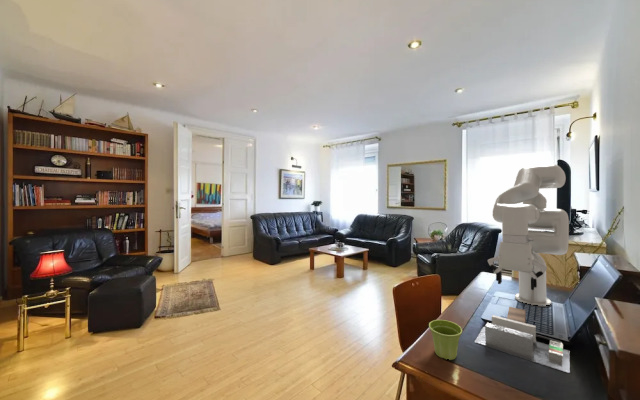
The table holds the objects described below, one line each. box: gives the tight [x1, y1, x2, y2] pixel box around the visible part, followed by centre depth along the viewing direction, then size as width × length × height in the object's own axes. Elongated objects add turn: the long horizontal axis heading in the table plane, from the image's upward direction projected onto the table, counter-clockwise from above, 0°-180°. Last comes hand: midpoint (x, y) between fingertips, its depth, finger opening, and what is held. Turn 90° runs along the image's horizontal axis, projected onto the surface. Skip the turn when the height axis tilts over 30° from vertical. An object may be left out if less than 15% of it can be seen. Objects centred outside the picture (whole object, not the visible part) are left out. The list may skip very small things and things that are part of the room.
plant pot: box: [428, 319, 463, 361], centre depth 81 cm, size 9×9×9 cm
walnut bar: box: [506, 306, 527, 324], centre depth 95 cm, size 12×5×5 cm, turn 141°
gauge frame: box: [474, 322, 571, 375], centre depth 83 cm, size 13×23×6 cm, turn 46°
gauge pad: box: [491, 314, 562, 343], centre depth 87 cm, size 2×18×5 cm, turn 46°
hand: (515, 285), depth 95 cm, fingers open, 9 cm apart
